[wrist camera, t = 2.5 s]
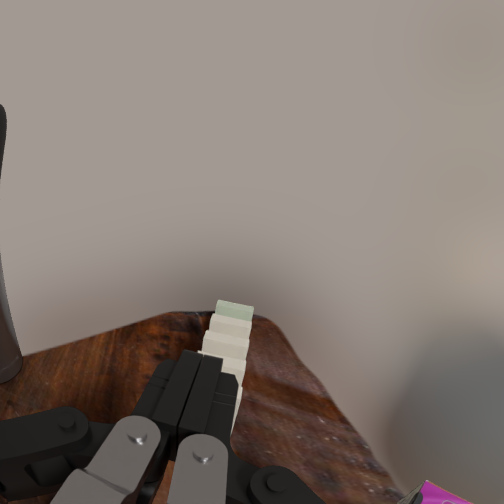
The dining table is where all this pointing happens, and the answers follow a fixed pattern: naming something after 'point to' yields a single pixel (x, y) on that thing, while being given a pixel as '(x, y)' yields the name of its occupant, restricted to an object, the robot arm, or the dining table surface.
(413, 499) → the candy bar box
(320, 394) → the dining table surface
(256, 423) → the dining table surface
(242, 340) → the domino
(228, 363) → the domino
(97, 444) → the robot arm
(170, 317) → the dining table surface
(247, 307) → the domino
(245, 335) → the domino
